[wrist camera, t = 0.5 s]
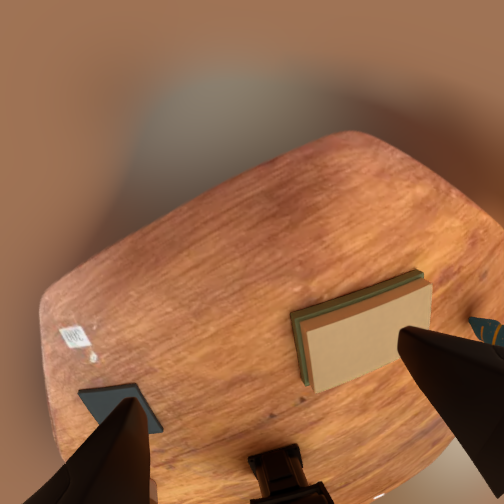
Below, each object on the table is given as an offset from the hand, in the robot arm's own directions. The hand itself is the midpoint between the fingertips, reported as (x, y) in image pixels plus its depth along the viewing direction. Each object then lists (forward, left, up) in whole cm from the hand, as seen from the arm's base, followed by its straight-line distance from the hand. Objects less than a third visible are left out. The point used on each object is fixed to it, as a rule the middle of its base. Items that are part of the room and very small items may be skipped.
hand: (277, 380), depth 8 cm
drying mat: (-13, +15, -15) cm, 25 cm away
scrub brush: (-10, -11, -15) cm, 21 cm away
